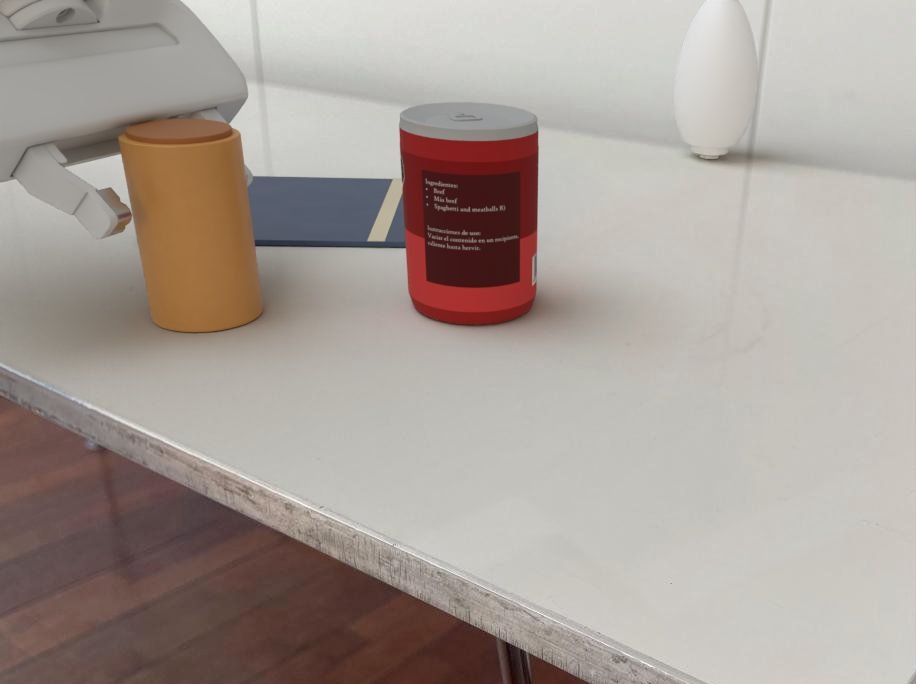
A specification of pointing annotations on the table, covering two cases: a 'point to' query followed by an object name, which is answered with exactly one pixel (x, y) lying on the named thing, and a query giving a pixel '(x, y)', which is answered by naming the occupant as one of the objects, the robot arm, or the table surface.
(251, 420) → the table surface
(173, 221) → the lidded tan canister
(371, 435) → the table surface
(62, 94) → the robot arm
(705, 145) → the white tall oval piece
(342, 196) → the placemat
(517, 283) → the canned food
